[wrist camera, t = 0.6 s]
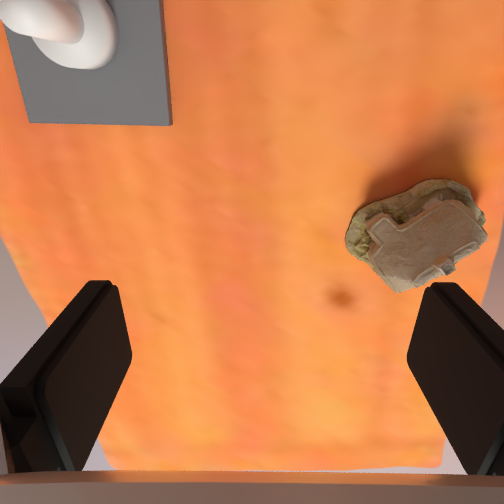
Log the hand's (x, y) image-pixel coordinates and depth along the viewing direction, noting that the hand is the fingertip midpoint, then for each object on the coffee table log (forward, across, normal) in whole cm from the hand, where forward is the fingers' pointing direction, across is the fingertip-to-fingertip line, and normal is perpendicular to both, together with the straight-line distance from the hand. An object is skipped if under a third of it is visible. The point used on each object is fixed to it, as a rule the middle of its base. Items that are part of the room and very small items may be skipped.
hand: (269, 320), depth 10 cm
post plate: (+28, +16, -11) cm, 34 cm away
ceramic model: (+29, -18, +9) cm, 35 cm away
